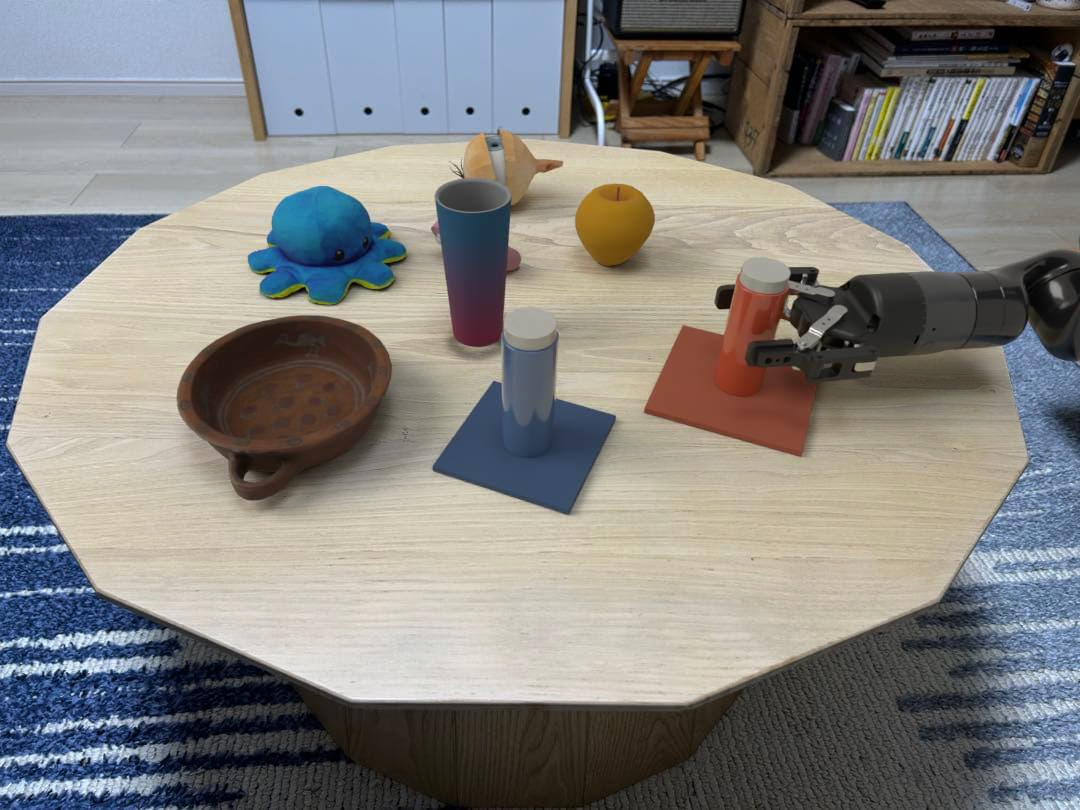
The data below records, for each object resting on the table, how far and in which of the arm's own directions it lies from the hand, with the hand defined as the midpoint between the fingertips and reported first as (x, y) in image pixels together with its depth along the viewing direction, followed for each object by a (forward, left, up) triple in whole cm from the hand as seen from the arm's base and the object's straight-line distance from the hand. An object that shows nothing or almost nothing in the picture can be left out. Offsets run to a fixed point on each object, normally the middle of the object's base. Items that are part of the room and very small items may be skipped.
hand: (731, 324), depth 67 cm
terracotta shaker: (-2, -1, -7) cm, 7 cm away
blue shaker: (+13, +14, -7) cm, 21 cm away
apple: (+16, -18, -8) cm, 25 cm away
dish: (+33, +19, -8) cm, 39 cm away
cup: (+24, +1, -8) cm, 26 cm away
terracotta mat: (-2, -1, -7) cm, 8 cm away
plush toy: (+45, -4, -8) cm, 46 cm away
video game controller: (+30, -11, -8) cm, 33 cm away
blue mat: (+13, +14, -7) cm, 21 cm away
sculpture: (+33, -26, -8) cm, 43 cm away
